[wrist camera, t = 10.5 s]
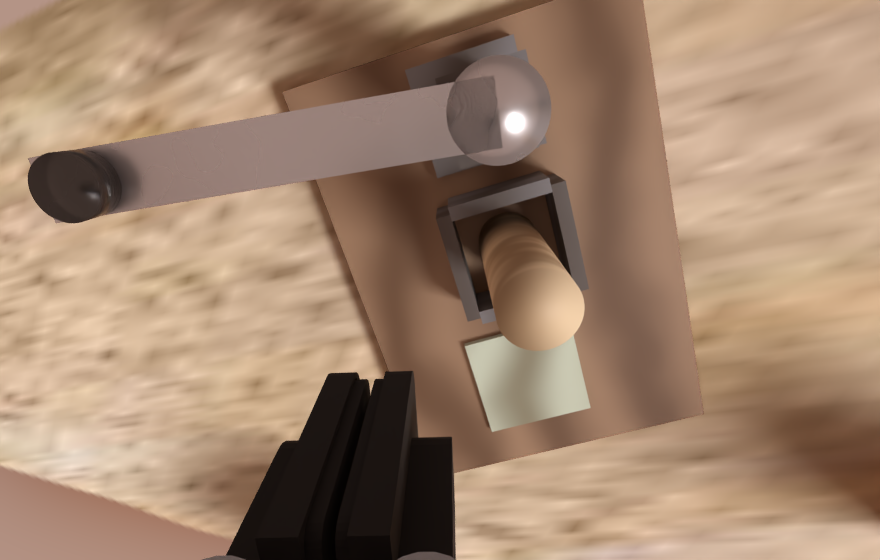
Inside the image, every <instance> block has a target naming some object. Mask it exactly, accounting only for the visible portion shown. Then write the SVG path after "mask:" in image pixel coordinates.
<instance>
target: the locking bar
mask: <svg viewBox="0 0 880 560" xmlns="http://www.w3.org/2000/svg"><path fill="white" fill-rule="evenodd" d="M550 118H551V99H550V94H549V90H548V88H547V85H546V83H545V81H544V79H543V78H542V76H541V75H540V74H539V72H538V71H537V70H536V69H535V68H534V67H533V66H531V65H530V64H529V63H527V62H526V61H524V60H522V59H520V58H517V57H514V56H509V55H493V56H488V57H485V58H482V59H480V60H478V61H476V62H474V63H472V64H471V65H470V66H468V67H467V68H466V69H465V70H464V71H463V72H462V73H461V74H460V75H459V77H458V78H457V79H456V81H455V82H452V83H446V84H441V85H435V86H429V87H424V88H418V89H413V90H407V91H401V92H396V93H390V94H385V95H379V96H373V97H368V98H362V99H357V100H351V101H345V102H340V103H334V104H329V105H323V106H317V107H312V108H306V109H301V110H295V111H289V112H284V113H278V114H273V115H267V116H261V117H256V118H250V119H245V120H239V121H233V122H228V123H222V124H217V125H211V126H205V127H200V128H194V129H189V130H183V131H177V132H172V133H166V134H161V135H155V136H149V137H144V138H138V139H133V140H127V141H121V142H116V143H110V144H105V145H99V146H93V147H88V148H82V149H77V150H69V151H60V152H52V153H46V154H44V155H41V156H37V157H32V158H28V160H29V162H30V164H31V167H30V169H29V173H28V185H29V189H30V192H31V195H32V197H33V199H34V200H35V202H36V203H37V204H38V206H39V207H40V208H41V209H42V210H43V211H44V212H45V213H47V214H48V215H49V216H51V217H53V218H54V220H55V222H56V223H60V222H66V223H79V222H83V221H86V220H90V219H93V218H96V217H99V216H102V215H107V214H113V213H119V212H125V211H131V210H137V209H143V208H149V207H155V206H161V205H167V204H173V203H179V202H185V201H191V200H196V199H202V198H208V197H214V196H220V195H226V194H232V193H238V192H244V191H250V190H256V189H262V188H268V187H274V186H280V185H286V184H291V183H297V182H303V181H309V180H315V179H321V178H327V177H333V176H339V175H345V174H351V173H357V172H363V171H369V170H375V169H381V168H386V167H392V166H398V165H404V164H410V163H416V162H422V161H428V160H434V159H440V158H446V157H452V156H458V155H464V154H465V155H467V156H468V157H470V158H471V159H473V160H475V161H477V162H479V163H482V164H486V165H491V166H501V165H508V164H512V163H514V162H517V161H519V160H521V159H523V158H525V157H526V156H527V155H529V154H530V153H531V152H532V151H533V150H534V149H535V148H536V147H537V146H538V145H539V144H540V142H541V141H542V139H543V138H544V136H545V134H546V132H547V129H548V126H549V122H550Z"/></svg>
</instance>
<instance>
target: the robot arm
mask: <svg viewBox="0 0 880 560" xmlns="http://www.w3.org/2000/svg"><path fill="white" fill-rule="evenodd" d="M203 560H456V554H455V500H454V469H453V445H452V437H418V424H417V409H416V395H415V380H414V372H413V371H389V372H385V376H384V379H375V381H374V385H373V388H372V392H371V396H370V388H369V382H368V380H367V379H362V380H360V379H359V375H358V373H357V372H355V373H330V374H328V376H327V378H326V380H325V383H324V385H323V387H322V389H321V392H320V394H319V396H318V398H317V400H316V403H315V405H314V407H313V409H312V412H311V414H310V416H309V418H308V421H307V423H306V425H305V427H304V430H303V432H302V434H301V436H300V438H299V441H285V442H283V443H282V445H281V446H280V448H279V449H278V451H277V453H276V455H275V457H274V459H273V461H272V463H271V465H270V467H269V469H268V471H267V474H266V476H265V478H264V480H263V482H262V484H261V486H260V488H259V490H258V492H257V494H256V496H255V498H254V500H253V502H252V504H251V506H250V508H249V510H248V512H247V514H246V516H245V518H244V520H243V522H242V524H241V526H240V528H239V530H238V532H237V534H236V536H235V538H234V540H233V542H232V544H231V546H230V549H229V550H228V552H227V554H226V556H214V557H211V558H206V559H203Z"/></svg>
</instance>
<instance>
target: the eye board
mask: <svg viewBox="0 0 880 560" xmlns="http://www.w3.org/2000/svg"><path fill="white" fill-rule="evenodd" d="M493 55H509V56H514V57H517V58H520V59H522V60H524V61H526V62H527V63H529V64H530V65H531V66H533V67H534V68H535V69H536V70H537V71H538V72H539V74H540V75H541V76H542V78H543V79H544V81H545V83H546V85H547V88H548V90H549V94H550V99H551V118H550V122H549V126H548V129H547V132H546V134H545V136H544V138H543V139H542V141H541V142H540V144H539V145H538V146H537V147H536V148H535V149H534V150H533V151H532V152H531V153H530V154H529V155H527V156H526V157H525V158H523V159H521V160H519V161H517V162H514V163H512V164H508V165H501V166H491V165H486V164H482V163H479V162H477V161H475V160H473V159H471V158H470V157H468V156H467V155H465V154H464V155H458V156H452V157H446V158H440V159H434V160H428V161H422V162H416V163H410V164H404V165H398V166H392V167H386V168H381V169H375V170H369V171H363V172H357V173H351V174H345V175H339V176H333V177H327V178H321V179H316V182H317V184H318V187H319V190H320V192H321V195H322V198H323V200H324V203H325V205H326V208H327V211H328V213H329V216H330V218H331V221H332V224H333V226H334V229H335V231H336V234H337V237H338V239H339V242H340V245H341V247H342V250H343V252H344V255H345V258H346V260H347V263H348V265H349V268H350V271H351V273H352V276H353V279H354V281H355V284H356V286H357V289H358V292H359V294H360V297H361V299H362V302H363V305H364V307H365V310H366V312H367V315H368V318H369V320H370V323H371V326H372V328H373V331H374V333H375V336H376V339H377V341H378V344H379V346H380V349H381V352H382V354H383V357H384V359H385V362H386V365H387V367H388V370H389V371H413V372H414V380H415V395H416V409H417V424H418V437H452V445H453V469H454V473H456V472H461V471H465V470H469V469H473V468H478V467H482V466H486V465H490V464H494V463H499V462H503V461H507V460H511V459H516V458H520V457H524V456H528V455H533V454H537V453H541V452H545V451H550V450H554V449H558V448H562V447H566V446H571V445H575V444H579V443H583V442H588V441H592V440H596V439H600V438H605V437H609V436H613V435H617V434H621V433H626V432H630V431H634V430H638V429H643V428H647V427H651V426H655V425H660V424H664V423H668V422H672V421H677V420H681V419H685V418H689V417H693V416H698V415H702V414H704V411H703V405H702V398H701V391H700V384H699V378H698V371H697V364H696V357H695V350H694V344H693V337H692V330H691V323H690V316H689V310H688V303H687V296H686V289H685V282H684V276H683V269H682V262H681V255H680V249H679V242H678V235H677V228H676V221H675V215H674V208H673V201H672V194H671V187H670V181H669V174H668V167H667V160H666V153H665V147H664V140H663V133H662V126H661V120H660V113H659V106H658V99H657V92H656V86H655V79H654V72H653V65H652V58H651V52H650V45H649V38H648V31H647V24H646V18H645V11H644V4H643V0H553V1H550V2H547V3H544V4H541V5H538V6H535V7H532V8H529V9H526V10H524V11H521V12H518V13H515V14H512V15H509V16H506V17H503V18H500V19H497V20H494V21H491V22H488V23H485V24H482V25H479V26H476V27H473V28H470V29H467V30H464V31H461V32H458V33H455V34H452V35H449V36H447V37H444V38H441V39H438V40H435V41H432V42H429V43H426V44H423V45H420V46H417V47H414V48H411V49H408V50H405V51H402V52H399V53H396V54H393V55H390V56H387V57H384V58H381V59H378V60H375V61H372V62H370V63H367V64H364V65H361V66H358V67H355V68H352V69H349V70H346V71H343V72H340V73H337V74H334V75H331V76H328V77H325V78H322V79H319V80H316V81H313V82H310V83H307V84H304V85H301V86H298V87H296V88H293V89H290V90H287V91H284V92H282V93H283V96H284V98H285V101H286V103H287V106H288V109H289V111H295V110H301V109H306V108H312V107H317V106H323V105H329V104H334V103H340V102H345V101H351V100H357V99H362V98H368V97H373V96H379V95H385V94H390V93H396V92H401V91H407V90H413V89H418V88H424V87H429V86H435V85H441V84H446V83H452V82H455V81H456V79H457V78H458V77H459V75H460V74H461V73H462V72H463V71H464V70H465V69H466V68H467V67H468V66H470V65H471V64H472V63H474V62H476V61H478V60H480V59H482V58H485V57H488V56H493ZM504 212H514V213H518V214H521V215H523V216H525V217H526V218H527V219H529V220H530V221H531V223H532V224H533V225H534V227H535V228H536V229H537V231H538V232H539V233H540V235H541V236H542V238H543V239H544V240H545V242H546V243H547V244H548V246H549V247H550V249H551V250H552V251H553V253H554V254H555V255H556V257H557V258H558V260H559V261H560V262H561V264H562V265H563V266H564V268H565V269H566V271H567V272H568V273H569V275H570V276H571V277H572V279H573V280H574V281H575V283H576V284H577V286H578V287H579V289H580V291H581V293H582V295H583V298H584V304H585V310H584V316H583V320H582V322H581V325H580V327H579V328H578V330H577V331H576V333H575V334H574V335H573V336H572V337H571V338H570V339H569V340H567V341H566V342H565V343H563V344H561V345H560V346H557V347H555V348H552V349H549V350H543V351H531V350H526V349H522V348H520V347H517V346H516V345H514V344H512V343H511V342H510V341H508V340H507V339H506V338H505V337H504V336H503V334H502V333H501V331H500V329H499V328H498V325H497V322H496V317H495V313H494V309H493V304H492V300H491V296H490V291H489V287H488V283H487V278H486V274H485V270H484V265H483V261H482V257H481V252H480V248H479V235H480V232H481V230H482V228H483V226H484V225H485V223H486V222H487V221H488V220H489V219H490V218H492V217H493V216H495V215H497V214H500V213H504Z"/></svg>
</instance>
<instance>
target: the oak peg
mask: <svg viewBox="0 0 880 560" xmlns="http://www.w3.org/2000/svg"><path fill="white" fill-rule="evenodd" d="M479 248H480V252H481V257H482V261H483V265H484V270H485V274H486V278H487V283H488V287H489V291H490V296H491V300H492V304H493V309H494V313H495V317H496V322H497V325H498V328H499V329H500V331H501V333H502V334H503V336H504V337H505V338H506V339H507V340H508V341H510V342H511V343H512V344H514V345H516V346H517V347H520V348H522V349H526V350H531V351H543V350H549V349H552V348H555V347H557V346H560V345H561V344H563V343H565V342H566V341H567V340H569V339H570V338H571V337H572V336H573V335H574V334H575V333H576V331H577V330H578V328H579V327H580V325H581V322H582V320H583V316H584V310H585V304H584V298H583V295H582V293H581V291H580V289H579V287H578V286H577V284H576V283H575V281H574V280H573V279H572V277H571V276H570V275H569V273H568V272H567V271H566V269H565V268H564V266H563V265H562V264H561V262H560V261H559V260H558V258H557V257H556V255H555V254H554V253H553V251H552V250H551V249H550V247H549V246H548V244H547V243H546V242H545V240H544V239H543V238H542V236H541V235H540V233H539V232H538V231H537V229H536V228H535V227H534V225H533V224H532V223H531V221H530V220H529V219H527V218H526V217H525V216H523V215H521V214H518V213H514V212H504V213H500V214H497V215H495V216H493V217H492V218H490V219H489V220H488V221H487V222H486V223H485V225H484V226H483V228H482V230H481V232H480V235H479Z"/></svg>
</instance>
